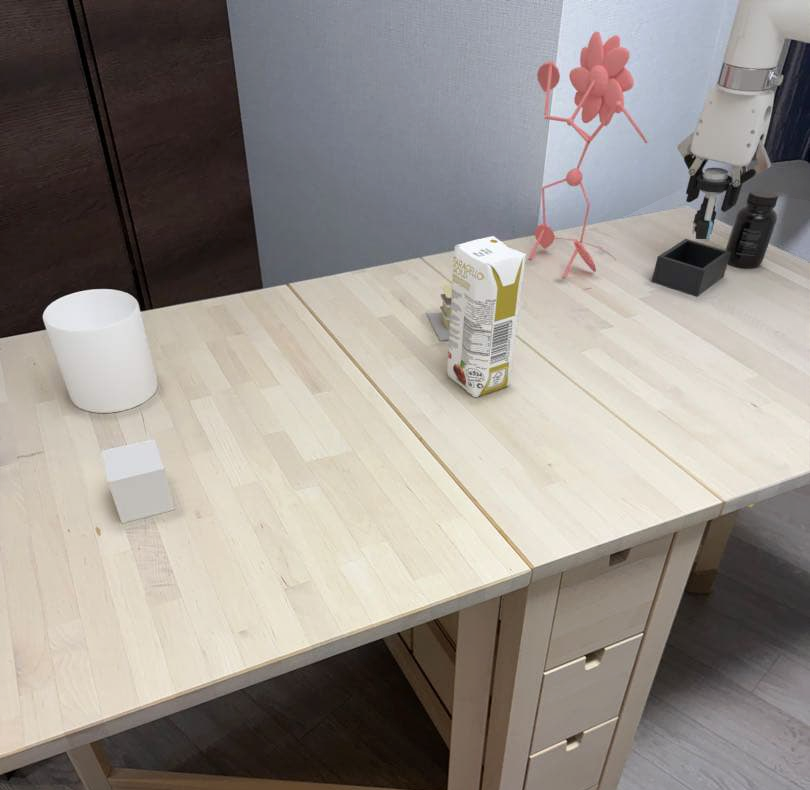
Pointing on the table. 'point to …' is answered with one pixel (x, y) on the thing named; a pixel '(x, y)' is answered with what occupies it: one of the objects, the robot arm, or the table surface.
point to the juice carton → (484, 314)
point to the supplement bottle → (752, 229)
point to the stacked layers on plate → (443, 315)
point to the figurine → (588, 113)
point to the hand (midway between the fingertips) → (709, 203)
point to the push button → (709, 199)
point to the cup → (101, 349)
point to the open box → (690, 267)
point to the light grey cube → (137, 480)
